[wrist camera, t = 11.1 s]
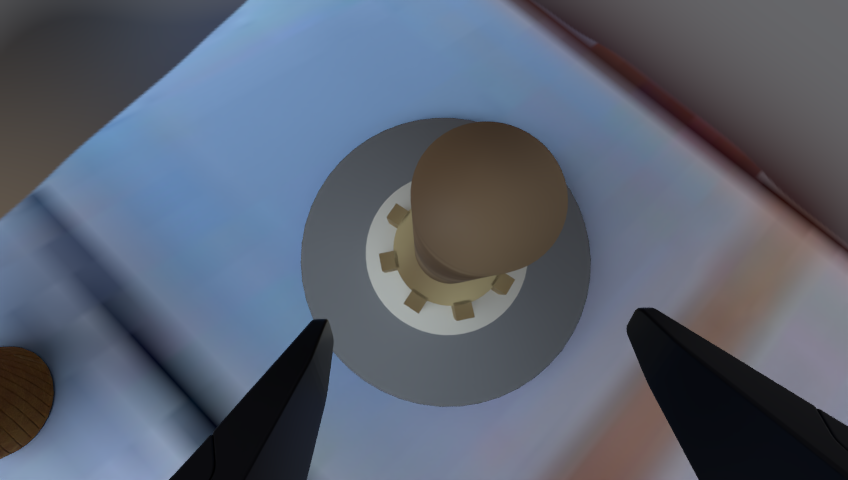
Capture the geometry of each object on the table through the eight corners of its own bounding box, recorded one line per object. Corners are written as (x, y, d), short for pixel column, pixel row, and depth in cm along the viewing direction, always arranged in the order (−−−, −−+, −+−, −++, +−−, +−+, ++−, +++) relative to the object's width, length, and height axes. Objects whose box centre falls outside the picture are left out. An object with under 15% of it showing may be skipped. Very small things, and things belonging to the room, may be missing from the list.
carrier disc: (632, 315, 20) (648, 317, 19) (380, 455, 19) (377, 468, 17) (498, 88, 23) (503, 74, 21) (265, 194, 21) (254, 187, 20)
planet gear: (535, 233, 20) (698, 153, 8) (468, 345, 18) (548, 432, 7) (428, 166, 20) (441, 4, 9) (356, 270, 19) (264, 239, 8)
